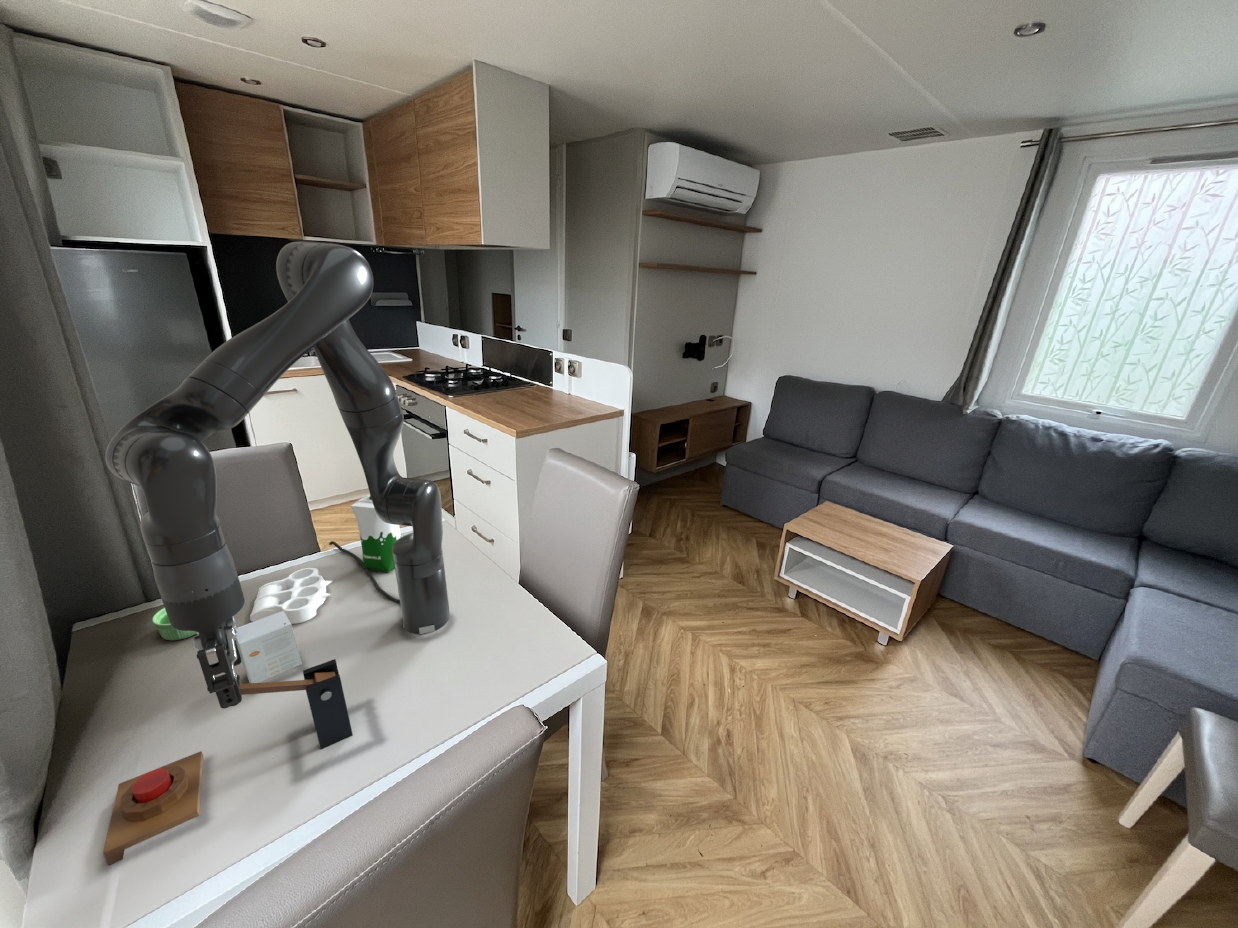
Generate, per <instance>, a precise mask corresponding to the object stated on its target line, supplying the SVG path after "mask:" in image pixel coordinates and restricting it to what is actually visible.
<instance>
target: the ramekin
mask: <svg viewBox="0 0 1238 928" xmlns="http://www.w3.org/2000/svg"><path fill="white" fill-rule="evenodd" d="M151 621H152V624H153V625H154V626H155V627H156V629H157V631H158V633H159V635H160V637H161V638H162V639H163V640H166V641H180V640H185V639H187V638H191V637H194V636H197V634H196V631H182V630H178V629H175V628H174V627H172V625H171V624H170V621H169V618H168V615H167V613H166V610H165V607H163V608H162V609H160V610H158V611H156V613H155V614H154V615H153V616H152V620H151Z"/></svg>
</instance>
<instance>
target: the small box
mask: <svg viewBox="0 0 1238 928" xmlns="http://www.w3.org/2000/svg"><path fill="white" fill-rule="evenodd" d="M236 628H237V636H236V639H235V640H236V642H237V646H238V649H239V652H240V656H241V663H242V665H243V669H244V672H245V674H246V677H247V680H248V682H249V683H263V682H264V681H267V680H269V679H270V678H273V677H275V676H278V675H280V674H282V673H284V672H287V671H290V670H292V669H294V668H296V667H298V666H301V665H303V662H302V659H301V655H300V652H299V648H298V644H297V640H296V636H295V632H294V628H293V624H291V623H290V621H289V619H288V618H287V616H286V614H285V612H284V611H281V612H278V613H276V614H273V615H270V616H267V617H265V618H262V619H259V620H257V621H254V622H252V621H251V622H249V623H246V624H244V625H241V626H238V627H236Z"/></svg>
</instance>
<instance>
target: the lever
mask: <svg viewBox="0 0 1238 928" xmlns="http://www.w3.org/2000/svg"><path fill="white" fill-rule="evenodd" d="M333 676H336V675H335V672H323V673H315V674H314V676H313V679H310V680H305V679H296V680H282V681H265V682H264V681H263V682H260V683H250V682H249V683H241V676H240V675H239V674H237V677H236V679H237V683H238V686H239V689H240V692H241V695H242V696H247V695H258V694H271V693H272V694H273V693H284V692H285V693H287V692H297V691H298V692H299V691H306V687H307V686H309V685H312V684H315V683H317V682H320V681H323V680H325V679H328V678H331V677H333ZM237 705H240V703H238V704H236V705H233V706H232V707H235V706H237Z"/></svg>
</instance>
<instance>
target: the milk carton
mask: <svg viewBox="0 0 1238 928" xmlns="http://www.w3.org/2000/svg"><path fill="white" fill-rule="evenodd" d="M350 508H351V510H352V512H353V514H354V516H355V519H356V522H357V528H358V532H359V533H358V534H359V540H360V543H361V551H362V561H363V566H364V567H363V566H362V567H363V570H364V571H366V570H365V569H364V568H365V567H367V568H368V569H369V570H370V571H374V572H381V573H382V572H383V573H390V572H391V571H392V570H394V569H395V567H394V560H393V554H392V546H393V544H394V543H395V541H397V540H398V539H399V538H401V537H402V535H401V534H402V533H401V529H400V525H394V524H389V523H386V522H384V521H382V520H381V519H380V518H379V516H378V515H377V513H376V511H375V508H374V505H373V502H372V499H371V495H370V493H368V494H367V495H365V496H364V497H362V498H360V499H358V500H357V501H356V502H354V503H353V504H350Z"/></svg>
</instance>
